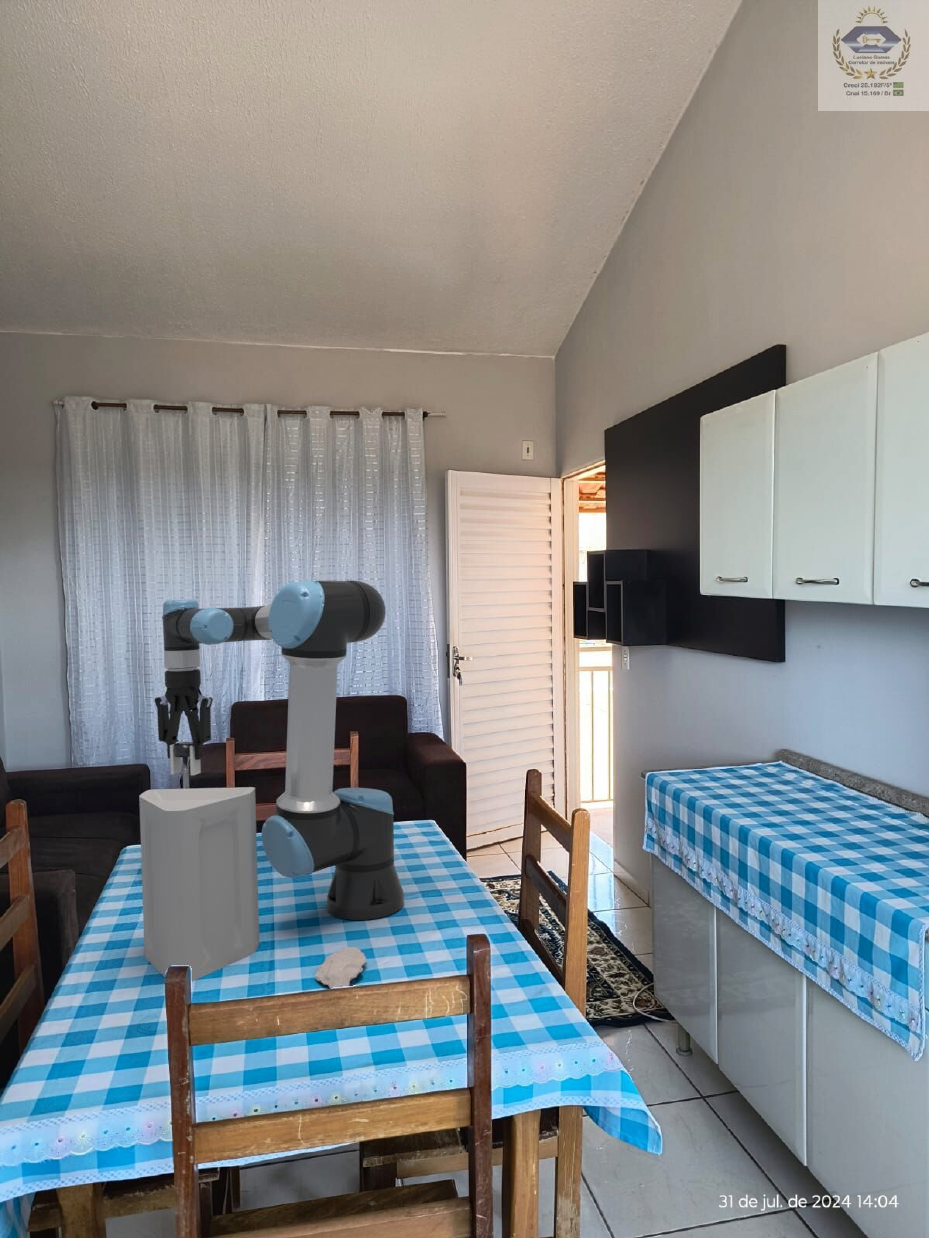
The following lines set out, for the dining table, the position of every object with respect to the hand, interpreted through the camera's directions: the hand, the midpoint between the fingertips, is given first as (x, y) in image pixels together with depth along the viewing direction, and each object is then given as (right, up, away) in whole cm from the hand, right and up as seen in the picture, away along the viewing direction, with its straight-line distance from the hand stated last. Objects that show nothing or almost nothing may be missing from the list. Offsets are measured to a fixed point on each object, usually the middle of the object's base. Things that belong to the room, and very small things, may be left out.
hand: (185, 773), depth 182 cm
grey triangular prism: (+16, -24, -43) cm, 52 cm away
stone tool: (+42, -24, -48) cm, 69 cm away
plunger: (0, -13, 0) cm, 13 cm away
